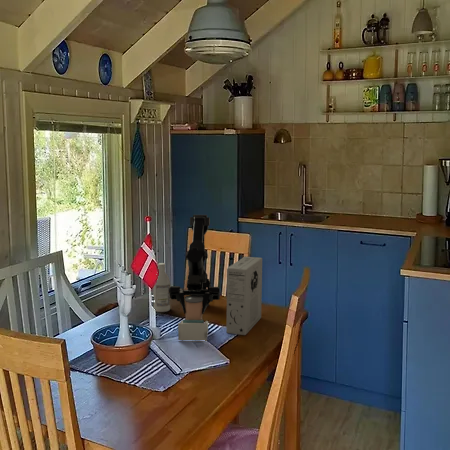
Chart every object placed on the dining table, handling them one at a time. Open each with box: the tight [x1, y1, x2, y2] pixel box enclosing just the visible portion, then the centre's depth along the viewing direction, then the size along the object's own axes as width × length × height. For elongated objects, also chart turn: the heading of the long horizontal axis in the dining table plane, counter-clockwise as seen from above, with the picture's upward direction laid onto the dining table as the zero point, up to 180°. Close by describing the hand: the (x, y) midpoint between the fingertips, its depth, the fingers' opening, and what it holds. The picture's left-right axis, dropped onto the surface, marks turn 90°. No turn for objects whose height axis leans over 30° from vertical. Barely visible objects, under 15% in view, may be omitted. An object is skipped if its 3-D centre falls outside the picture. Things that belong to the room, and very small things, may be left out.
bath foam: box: [152, 262, 171, 313], centre depth 231 cm, size 7×7×20 cm
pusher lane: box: [177, 320, 209, 342], centre depth 202 cm, size 12×10×6 cm
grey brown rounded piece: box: [184, 295, 203, 320], centre depth 203 cm, size 7×7×12 cm
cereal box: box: [226, 256, 263, 336], centre depth 212 cm, size 22×8×25 cm, turn 160°
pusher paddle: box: [182, 319, 205, 323], centre depth 199 cm, size 2×7×5 cm, turn 89°
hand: (193, 313), depth 201 cm, fingers open, 6 cm apart
